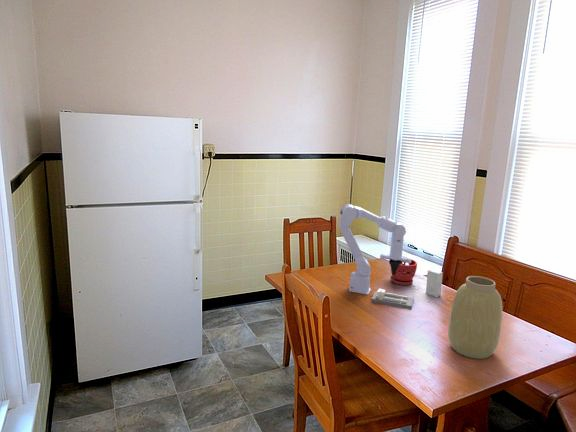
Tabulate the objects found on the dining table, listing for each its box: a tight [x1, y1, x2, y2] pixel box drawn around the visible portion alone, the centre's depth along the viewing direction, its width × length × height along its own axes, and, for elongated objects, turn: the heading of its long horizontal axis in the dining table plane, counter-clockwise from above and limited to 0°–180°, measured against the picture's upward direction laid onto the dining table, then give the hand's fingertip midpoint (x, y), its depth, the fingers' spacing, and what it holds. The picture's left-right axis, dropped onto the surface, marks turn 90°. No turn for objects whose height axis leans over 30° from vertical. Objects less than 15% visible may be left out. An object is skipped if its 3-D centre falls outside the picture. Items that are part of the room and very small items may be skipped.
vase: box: [447, 275, 503, 360], centre depth 149 cm, size 17×17×27 cm
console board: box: [370, 290, 414, 310], centre depth 192 cm, size 18×10×2 cm, turn 68°
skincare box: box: [425, 268, 444, 298], centre depth 201 cm, size 6×4×12 cm
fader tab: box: [377, 288, 386, 297], centre depth 193 cm, size 3×4×3 cm
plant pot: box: [390, 258, 418, 286], centre depth 216 cm, size 13×13×12 cm
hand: (393, 274), depth 201 cm, fingers closed
